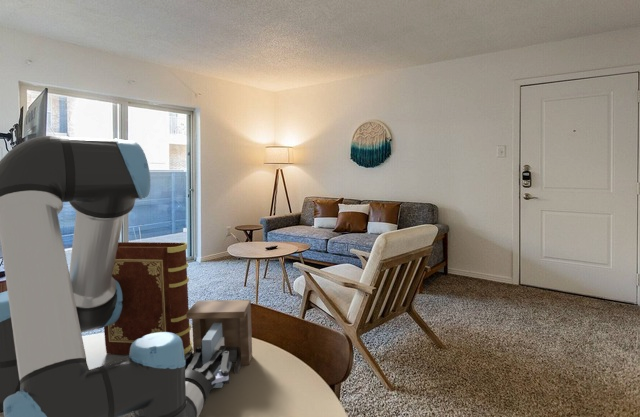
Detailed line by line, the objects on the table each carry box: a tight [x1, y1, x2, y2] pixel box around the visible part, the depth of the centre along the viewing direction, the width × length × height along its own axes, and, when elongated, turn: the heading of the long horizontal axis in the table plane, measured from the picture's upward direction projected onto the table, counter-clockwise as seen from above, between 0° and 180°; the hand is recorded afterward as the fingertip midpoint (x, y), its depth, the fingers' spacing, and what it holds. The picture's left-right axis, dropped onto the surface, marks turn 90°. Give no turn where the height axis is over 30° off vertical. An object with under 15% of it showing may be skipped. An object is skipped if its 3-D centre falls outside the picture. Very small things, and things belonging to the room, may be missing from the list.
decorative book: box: [103, 241, 193, 356], centre depth 105 cm, size 22×8×30 cm, turn 83°
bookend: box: [202, 323, 233, 389], centre depth 89 cm, size 6×10×11 cm, turn 1°
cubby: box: [186, 299, 253, 374], centre depth 97 cm, size 14×9×16 cm, turn 91°
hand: (217, 342), depth 92 cm, fingers closed on bookend, 2 cm apart
